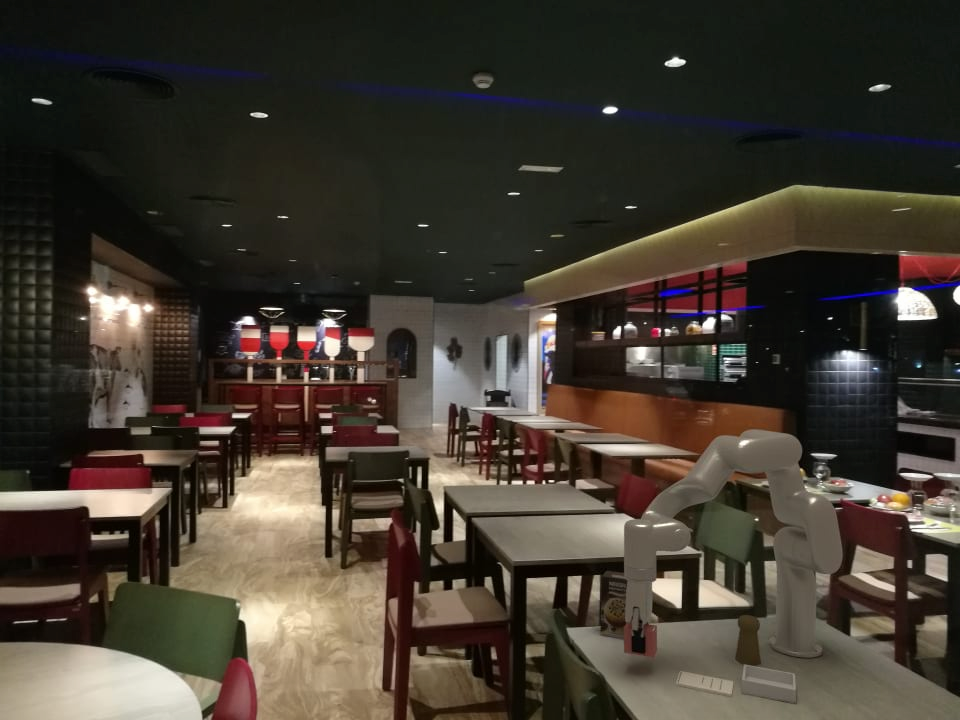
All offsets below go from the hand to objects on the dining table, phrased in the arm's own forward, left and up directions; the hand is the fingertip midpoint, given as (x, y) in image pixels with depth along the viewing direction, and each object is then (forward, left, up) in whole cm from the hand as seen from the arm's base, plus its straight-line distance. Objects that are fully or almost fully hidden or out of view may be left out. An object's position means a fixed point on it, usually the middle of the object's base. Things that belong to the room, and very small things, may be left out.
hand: (640, 647), depth 164 cm
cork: (-18, +23, -6) cm, 30 cm away
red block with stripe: (0, 0, -1) cm, 1 cm away
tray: (-3, +28, -6) cm, 29 cm away
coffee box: (-20, -10, -6) cm, 23 cm away
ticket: (+1, +15, -6) cm, 16 cm away
